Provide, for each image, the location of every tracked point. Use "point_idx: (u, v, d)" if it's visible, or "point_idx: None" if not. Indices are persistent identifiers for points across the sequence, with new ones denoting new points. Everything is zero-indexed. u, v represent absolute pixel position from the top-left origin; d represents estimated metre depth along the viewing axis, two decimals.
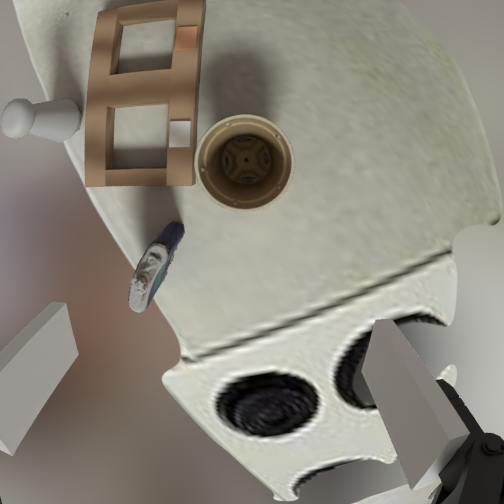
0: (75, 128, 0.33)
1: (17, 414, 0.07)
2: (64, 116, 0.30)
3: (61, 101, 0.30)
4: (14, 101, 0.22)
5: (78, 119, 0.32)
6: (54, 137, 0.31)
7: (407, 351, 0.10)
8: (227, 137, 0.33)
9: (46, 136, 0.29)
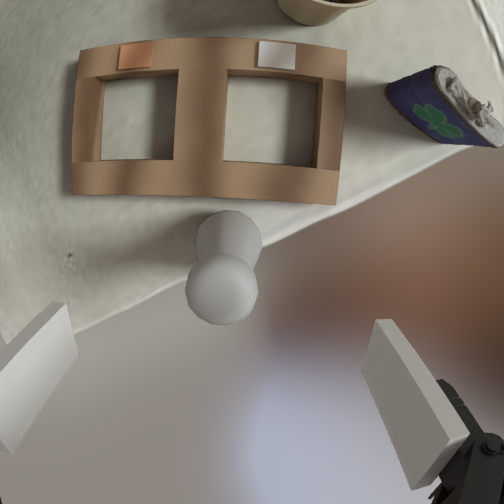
0: (246, 216, 0.27)
1: (17, 414, 0.07)
2: (227, 224, 0.24)
3: (201, 234, 0.25)
4: (190, 290, 0.18)
5: (233, 211, 0.27)
6: (257, 245, 0.25)
7: (407, 351, 0.10)
8: (285, 1, 0.20)
9: (255, 255, 0.24)
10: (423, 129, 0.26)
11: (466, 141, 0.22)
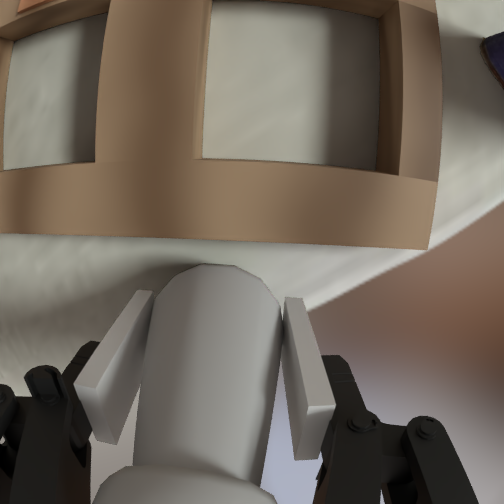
0: (251, 277, 0.13)
1: (121, 401, 0.09)
2: (207, 311, 0.10)
3: (153, 323, 0.11)
4: None
5: (222, 267, 0.13)
6: (276, 348, 0.11)
7: (302, 325, 0.11)
8: None
9: (273, 381, 0.10)
10: None
11: None
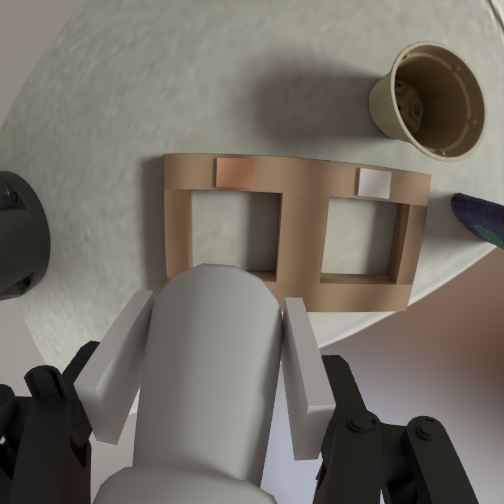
0: (251, 278, 0.13)
1: (121, 401, 0.09)
2: (207, 311, 0.10)
3: (153, 324, 0.11)
4: None
5: (222, 267, 0.13)
6: (276, 349, 0.11)
7: (302, 325, 0.11)
8: (385, 122, 0.23)
9: (273, 381, 0.10)
10: (476, 234, 0.29)
11: None
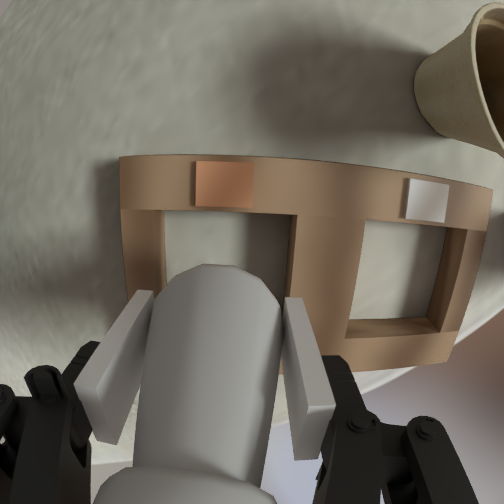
0: (251, 278, 0.13)
1: (121, 401, 0.09)
2: (207, 311, 0.10)
3: (153, 324, 0.11)
4: None
5: (222, 267, 0.13)
6: (276, 349, 0.11)
7: (302, 325, 0.11)
8: (443, 114, 0.15)
9: (273, 382, 0.10)
10: None
11: None
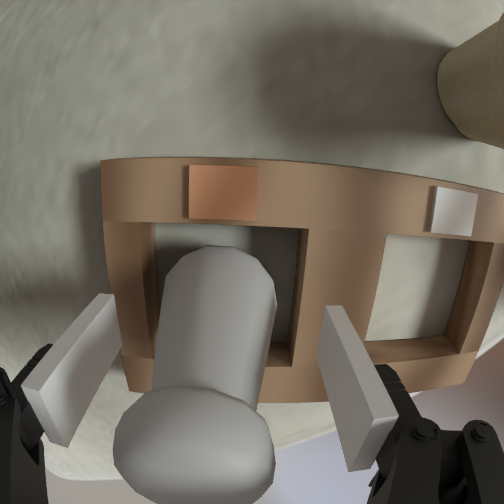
0: (248, 256, 0.15)
1: (73, 404, 0.08)
2: (211, 280, 0.12)
3: (165, 294, 0.13)
4: (120, 469, 0.06)
5: (224, 248, 0.15)
6: (269, 314, 0.13)
7: (349, 334, 0.11)
8: (472, 113, 0.12)
9: (266, 340, 0.12)
10: None
11: None
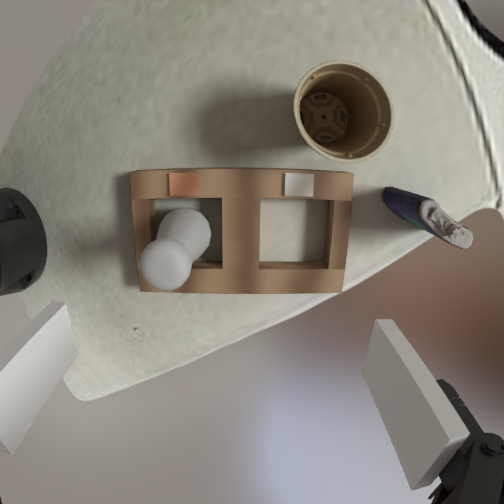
0: (196, 211, 0.33)
1: (17, 414, 0.07)
2: (178, 218, 0.31)
3: (160, 227, 0.31)
4: (141, 265, 0.24)
5: (186, 208, 0.33)
6: (203, 233, 0.32)
7: (407, 351, 0.10)
8: None
9: (199, 241, 0.30)
10: None
11: None
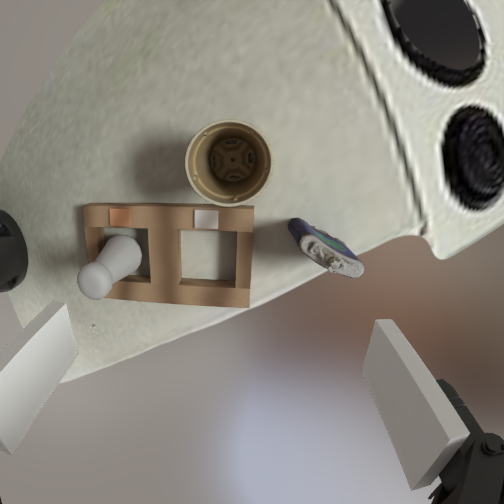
0: (129, 238, 0.41)
1: (17, 414, 0.07)
2: (113, 244, 0.38)
3: (102, 250, 0.39)
4: (78, 281, 0.32)
5: (122, 235, 0.41)
6: (131, 256, 0.39)
7: (407, 351, 0.10)
8: (209, 177, 0.38)
9: (127, 262, 0.38)
10: None
11: None
